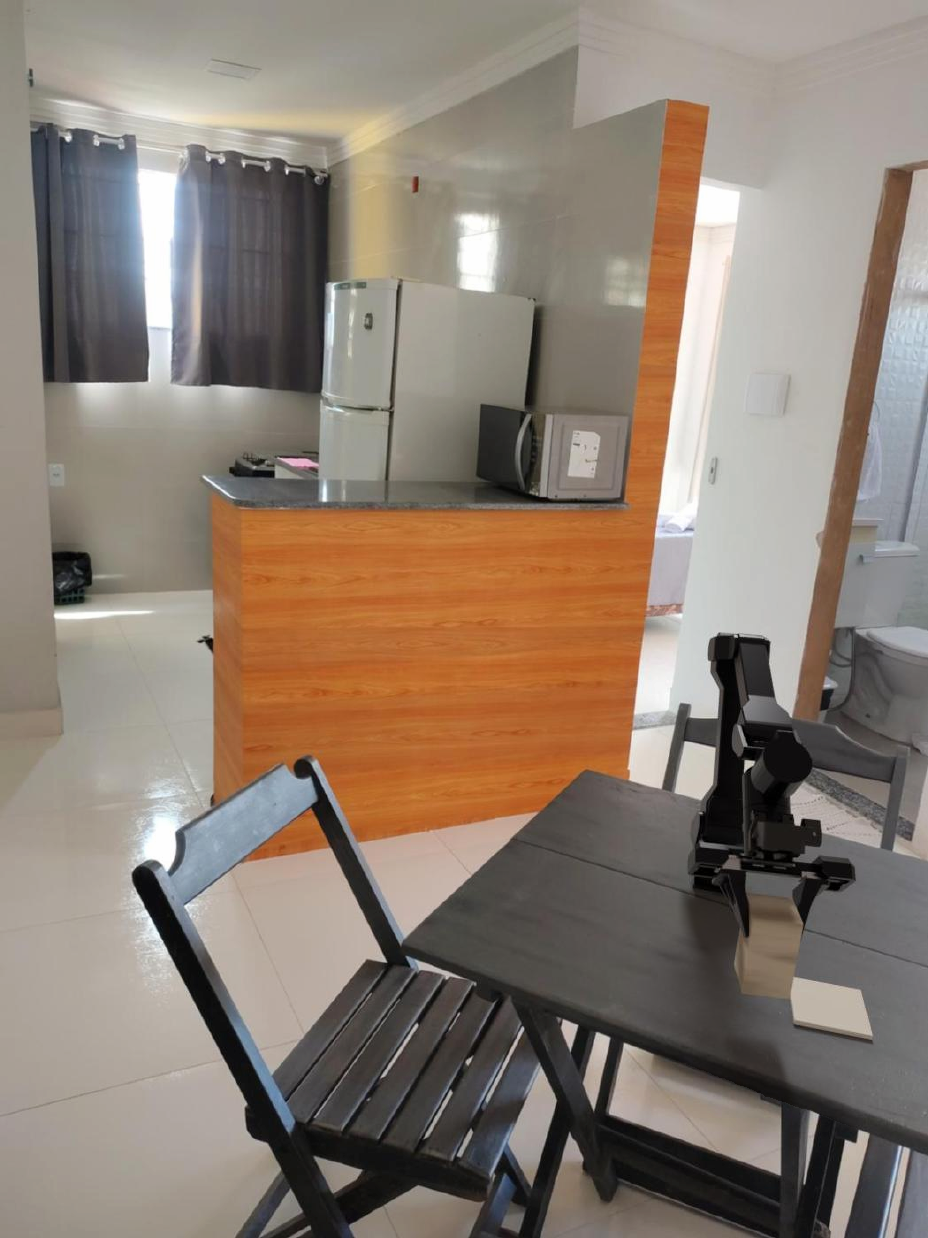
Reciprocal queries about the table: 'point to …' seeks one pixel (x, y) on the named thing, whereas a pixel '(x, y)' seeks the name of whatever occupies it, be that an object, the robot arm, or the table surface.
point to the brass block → (769, 946)
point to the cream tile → (829, 1008)
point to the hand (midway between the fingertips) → (771, 940)
